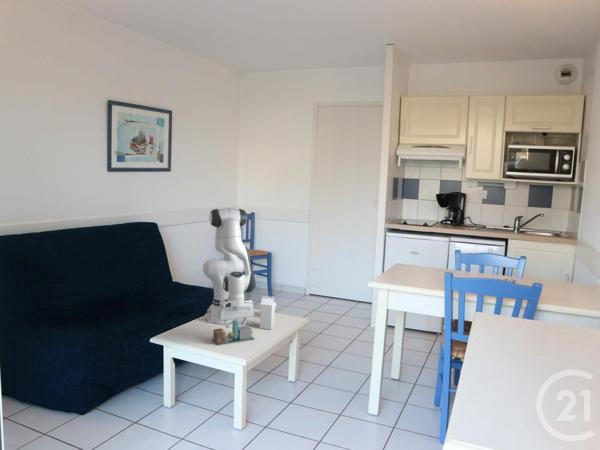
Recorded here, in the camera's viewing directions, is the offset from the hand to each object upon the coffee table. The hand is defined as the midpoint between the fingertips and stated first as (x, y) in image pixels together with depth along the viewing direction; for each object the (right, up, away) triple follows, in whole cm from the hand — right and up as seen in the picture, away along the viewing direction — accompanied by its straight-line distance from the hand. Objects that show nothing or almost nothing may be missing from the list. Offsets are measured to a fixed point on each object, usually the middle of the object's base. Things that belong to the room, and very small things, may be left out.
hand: (235, 326), depth 265 cm
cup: (+15, -4, +43) cm, 46 cm away
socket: (-8, -8, -4) cm, 12 cm away
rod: (+2, -7, +2) cm, 7 cm away
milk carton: (+16, -6, +24) cm, 29 cm away
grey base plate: (-2, -8, 0) cm, 8 cm away
